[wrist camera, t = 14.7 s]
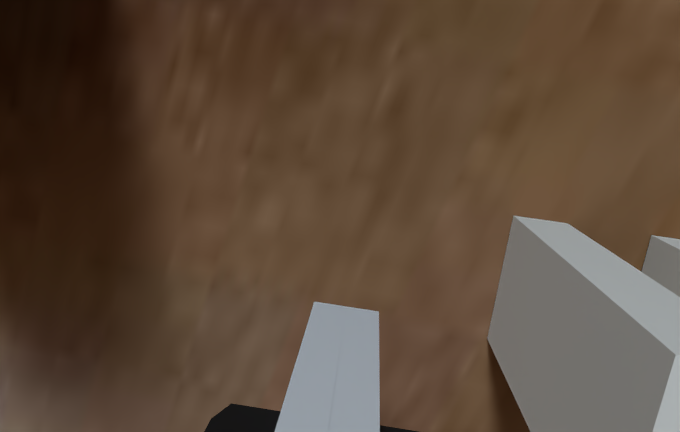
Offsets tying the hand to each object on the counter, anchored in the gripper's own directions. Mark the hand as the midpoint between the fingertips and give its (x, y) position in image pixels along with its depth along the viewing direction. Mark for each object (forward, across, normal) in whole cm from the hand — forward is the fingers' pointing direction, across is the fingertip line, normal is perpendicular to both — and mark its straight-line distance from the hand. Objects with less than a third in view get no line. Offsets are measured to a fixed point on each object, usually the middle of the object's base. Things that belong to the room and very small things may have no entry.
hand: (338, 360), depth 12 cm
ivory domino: (+8, +7, 0) cm, 11 cm away
